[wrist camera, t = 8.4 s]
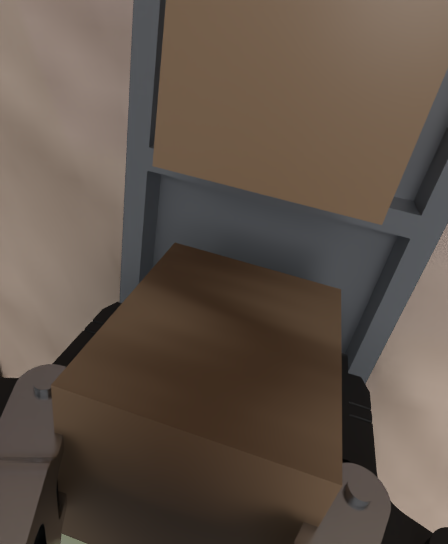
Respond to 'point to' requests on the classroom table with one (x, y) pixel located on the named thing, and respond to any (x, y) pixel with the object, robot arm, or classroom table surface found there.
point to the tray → (292, 145)
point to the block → (204, 408)
